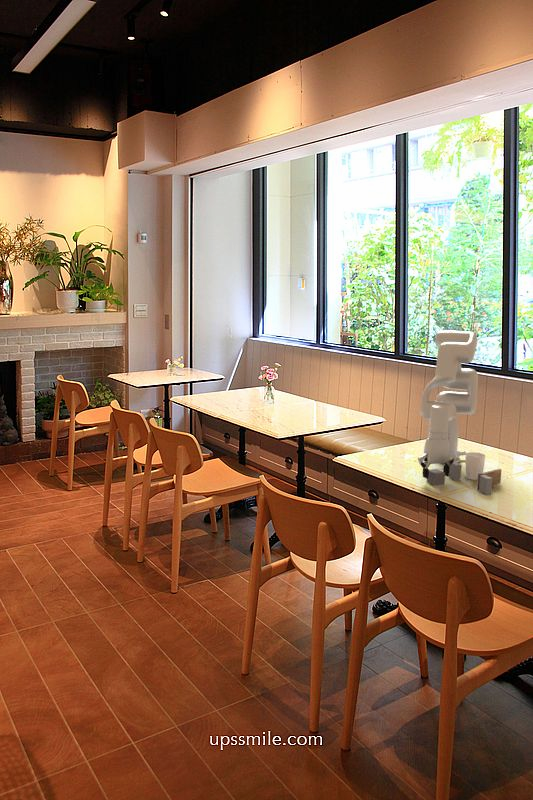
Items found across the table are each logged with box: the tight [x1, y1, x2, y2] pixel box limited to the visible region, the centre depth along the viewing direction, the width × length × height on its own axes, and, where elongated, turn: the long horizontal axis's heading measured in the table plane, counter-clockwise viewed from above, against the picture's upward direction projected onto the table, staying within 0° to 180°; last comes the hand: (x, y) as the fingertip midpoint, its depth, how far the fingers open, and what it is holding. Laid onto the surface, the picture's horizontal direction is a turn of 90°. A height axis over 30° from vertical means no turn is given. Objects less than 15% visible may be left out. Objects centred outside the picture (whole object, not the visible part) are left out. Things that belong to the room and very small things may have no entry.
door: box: [476, 468, 502, 491], centre depth 300 cm, size 2×14×6 cm, turn 127°
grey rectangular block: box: [426, 468, 446, 486], centre depth 305 cm, size 4×6×5 cm
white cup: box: [465, 451, 486, 481], centre depth 312 cm, size 8×8×10 cm
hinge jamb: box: [478, 475, 493, 496], centre depth 293 cm, size 2×5×6 cm, turn 21°
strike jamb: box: [448, 462, 462, 481], centre depth 311 cm, size 2×5×6 cm, turn 21°
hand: (435, 476), depth 305 cm, fingers open, 9 cm apart
